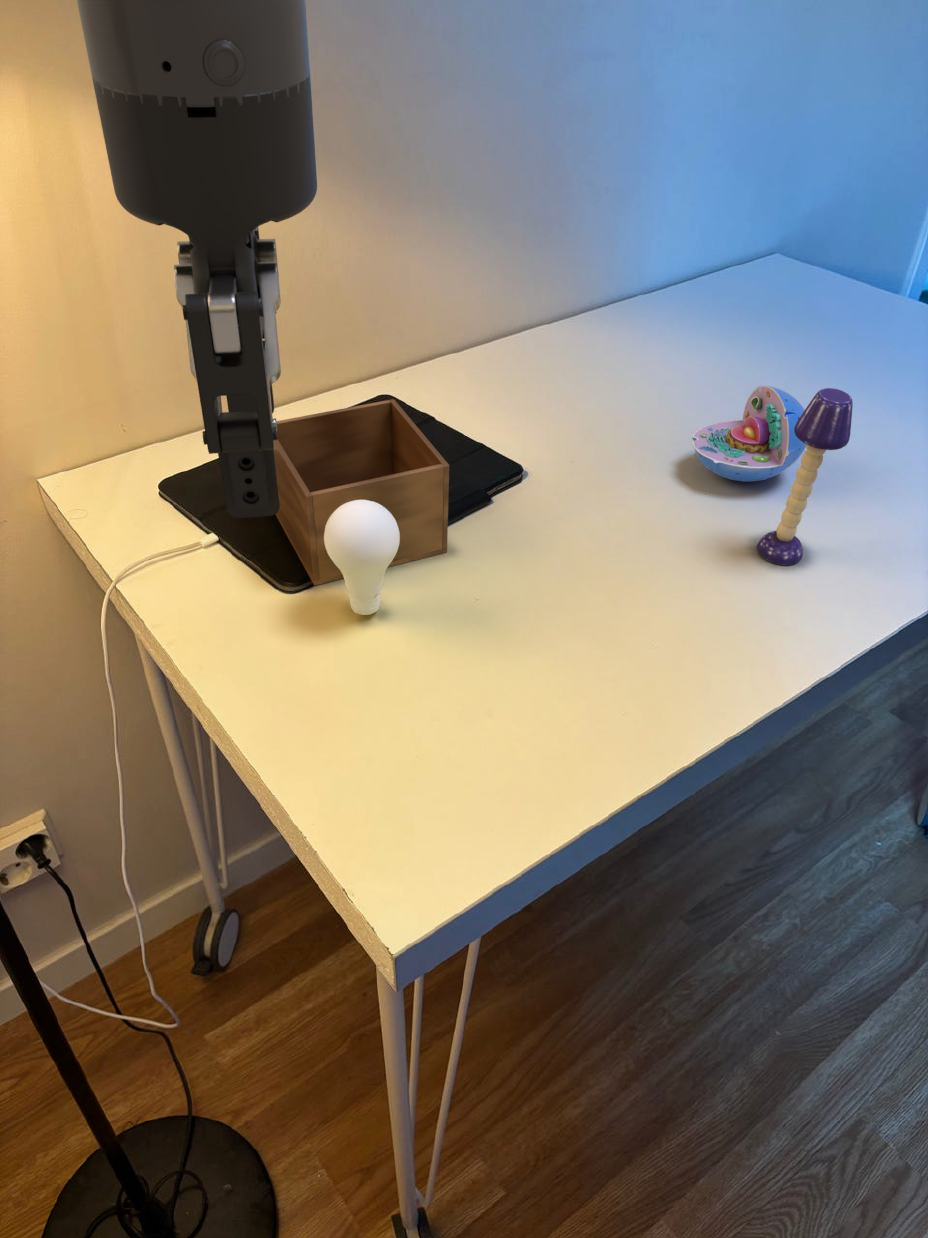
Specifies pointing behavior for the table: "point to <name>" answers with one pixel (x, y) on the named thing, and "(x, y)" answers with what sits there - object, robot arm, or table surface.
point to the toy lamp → (809, 468)
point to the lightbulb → (362, 549)
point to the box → (359, 480)
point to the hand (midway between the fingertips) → (253, 460)
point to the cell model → (753, 438)
